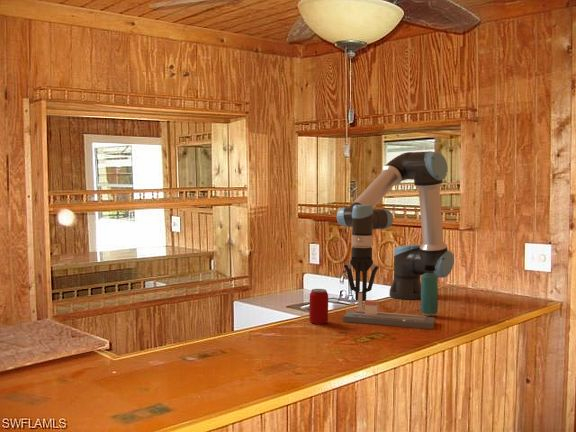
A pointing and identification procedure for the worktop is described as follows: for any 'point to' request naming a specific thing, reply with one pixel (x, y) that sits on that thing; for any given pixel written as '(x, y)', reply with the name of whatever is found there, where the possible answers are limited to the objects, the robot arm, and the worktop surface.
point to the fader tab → (371, 307)
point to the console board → (390, 319)
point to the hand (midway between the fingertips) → (360, 309)
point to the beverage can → (318, 306)
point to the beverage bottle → (429, 291)
